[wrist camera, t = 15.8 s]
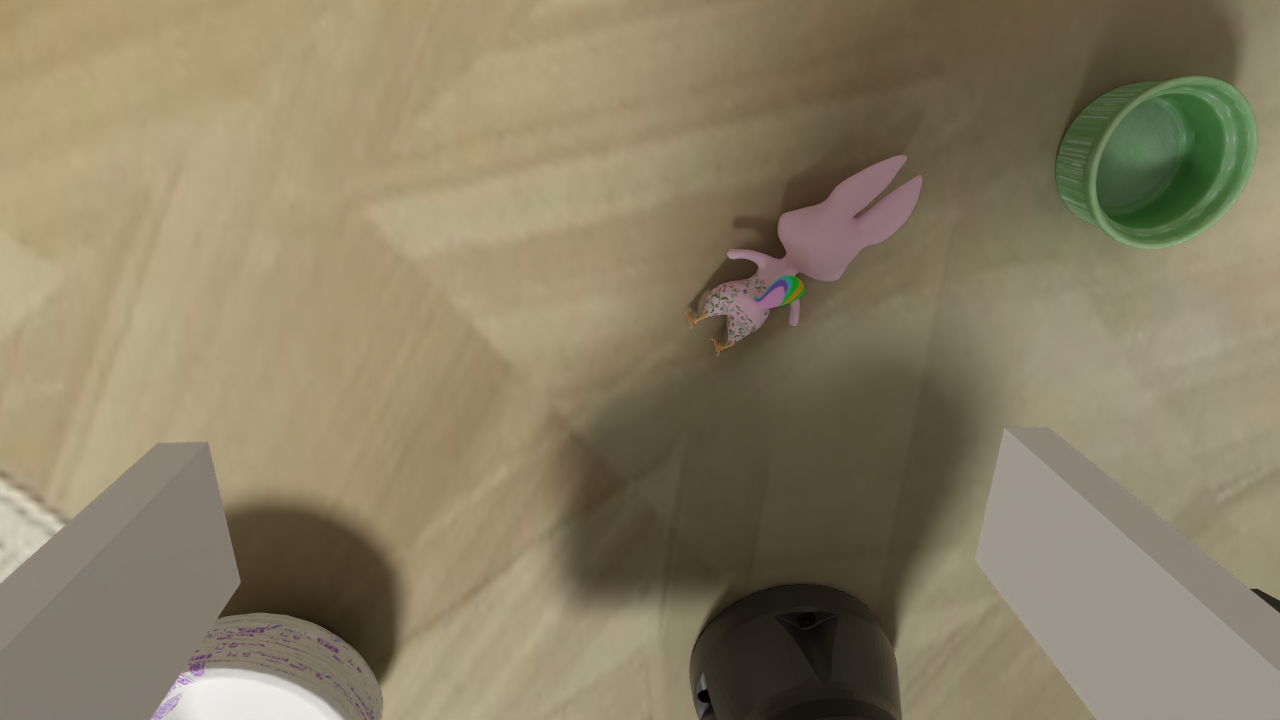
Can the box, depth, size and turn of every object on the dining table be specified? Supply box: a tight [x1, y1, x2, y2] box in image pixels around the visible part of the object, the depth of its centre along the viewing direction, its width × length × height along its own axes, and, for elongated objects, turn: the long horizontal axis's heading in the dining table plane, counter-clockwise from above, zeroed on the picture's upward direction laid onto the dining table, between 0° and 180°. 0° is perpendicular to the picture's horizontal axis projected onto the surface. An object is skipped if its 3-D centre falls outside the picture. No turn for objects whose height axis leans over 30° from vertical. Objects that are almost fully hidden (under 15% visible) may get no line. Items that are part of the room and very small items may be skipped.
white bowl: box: [150, 613, 383, 720], centre depth 50 cm, size 15×15×8 cm
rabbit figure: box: [685, 155, 922, 356], centre depth 41 cm, size 6×6×15 cm
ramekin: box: [1056, 76, 1258, 249], centre depth 41 cm, size 9×9×4 cm
